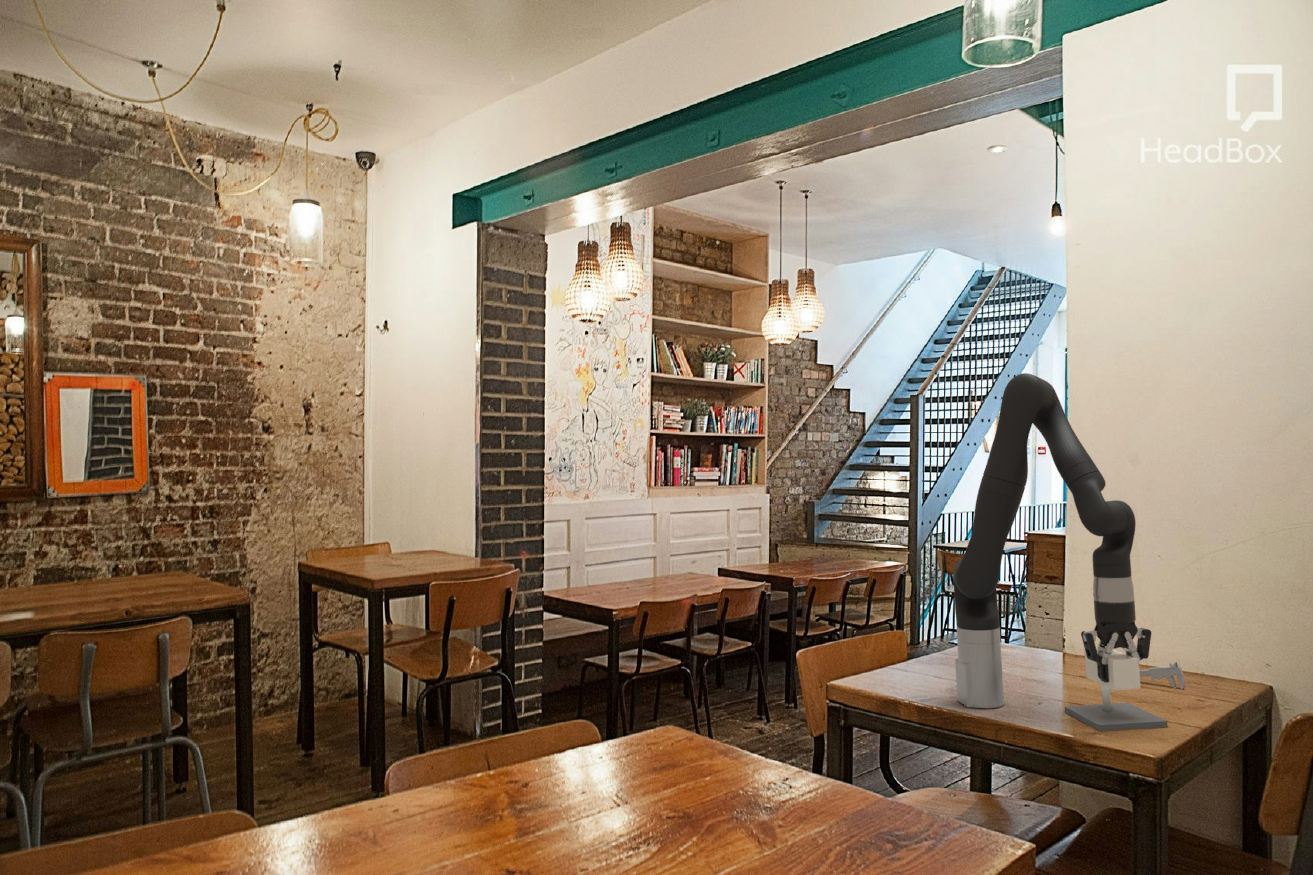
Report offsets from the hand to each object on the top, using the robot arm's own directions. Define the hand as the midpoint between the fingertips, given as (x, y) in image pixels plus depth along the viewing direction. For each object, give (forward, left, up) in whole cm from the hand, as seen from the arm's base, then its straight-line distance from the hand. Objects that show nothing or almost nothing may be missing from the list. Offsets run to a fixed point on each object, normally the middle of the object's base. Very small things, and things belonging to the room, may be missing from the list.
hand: (1119, 680), depth 186 cm
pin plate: (0, +2, -9) cm, 9 cm away
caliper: (+21, +30, -9) cm, 37 cm away
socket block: (0, +3, -1) cm, 3 cm away
